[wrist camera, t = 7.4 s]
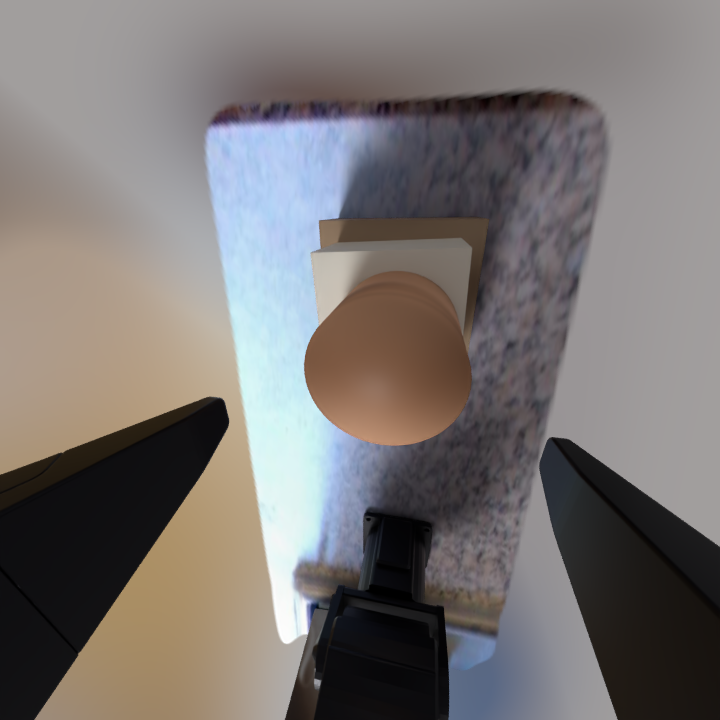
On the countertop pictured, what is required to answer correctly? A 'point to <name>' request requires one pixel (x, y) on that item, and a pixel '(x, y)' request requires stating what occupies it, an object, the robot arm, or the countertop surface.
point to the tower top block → (391, 268)
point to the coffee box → (306, 675)
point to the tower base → (414, 229)
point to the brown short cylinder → (390, 361)
